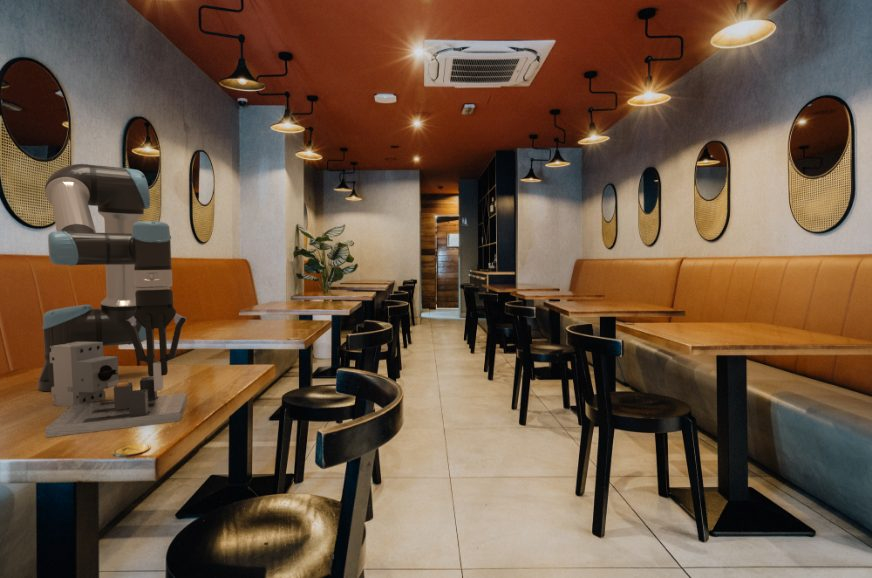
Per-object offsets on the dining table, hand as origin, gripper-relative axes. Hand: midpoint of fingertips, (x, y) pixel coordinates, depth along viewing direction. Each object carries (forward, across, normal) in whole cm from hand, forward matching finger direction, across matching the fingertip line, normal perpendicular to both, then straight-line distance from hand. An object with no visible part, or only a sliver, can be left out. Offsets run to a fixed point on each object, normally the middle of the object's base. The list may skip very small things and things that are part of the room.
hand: (158, 389), depth 113 cm
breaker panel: (+6, -7, 0) cm, 9 cm away
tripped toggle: (+3, -7, 0) cm, 8 cm away
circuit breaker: (+6, -18, +19) cm, 27 cm away
